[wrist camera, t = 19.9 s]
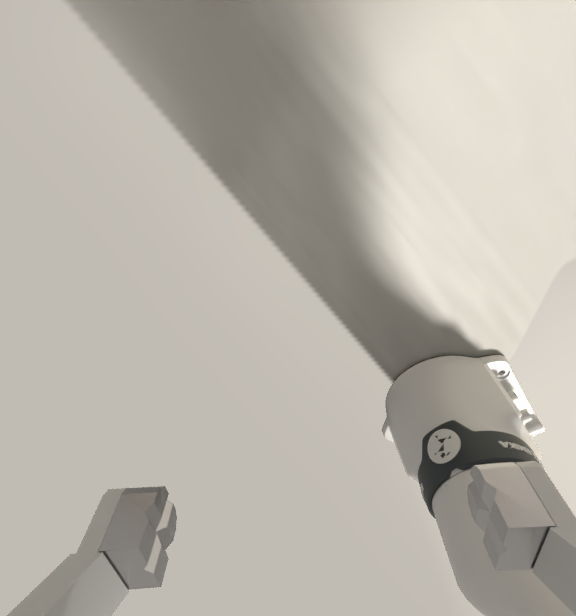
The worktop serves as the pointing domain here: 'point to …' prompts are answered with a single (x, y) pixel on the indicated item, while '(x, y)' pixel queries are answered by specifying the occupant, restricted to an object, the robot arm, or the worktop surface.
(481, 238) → the worktop surface
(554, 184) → the worktop surface
